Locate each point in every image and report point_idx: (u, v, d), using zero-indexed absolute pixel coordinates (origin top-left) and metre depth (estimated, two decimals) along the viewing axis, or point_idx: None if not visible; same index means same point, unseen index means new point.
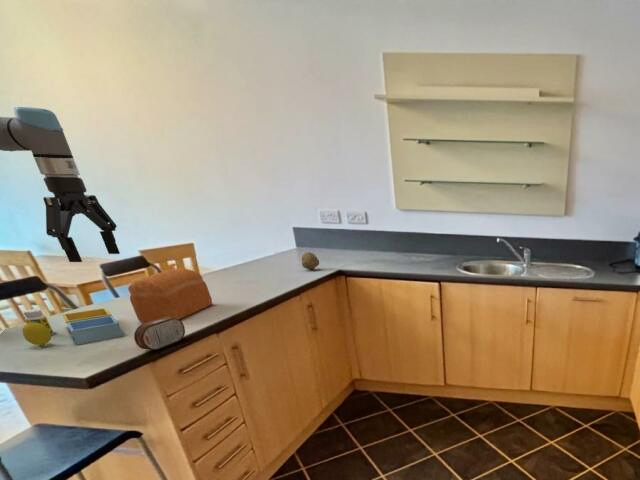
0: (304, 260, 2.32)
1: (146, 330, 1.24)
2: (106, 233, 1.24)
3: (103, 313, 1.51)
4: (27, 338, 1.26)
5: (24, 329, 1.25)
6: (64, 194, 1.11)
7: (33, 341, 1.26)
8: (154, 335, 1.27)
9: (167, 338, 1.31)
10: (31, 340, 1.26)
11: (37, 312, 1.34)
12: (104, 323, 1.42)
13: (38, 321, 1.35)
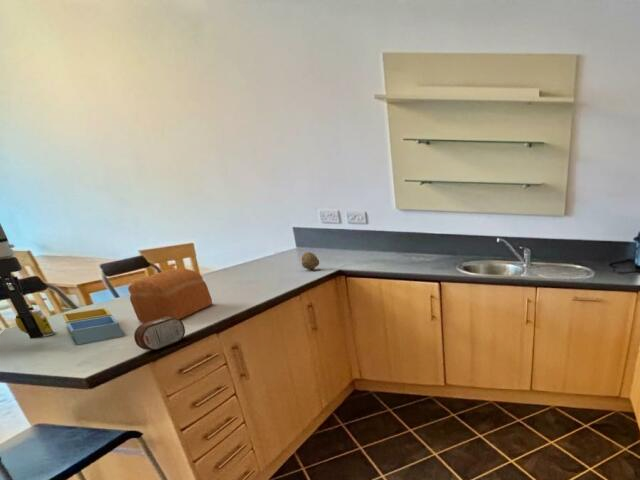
0: (304, 260, 2.32)
1: (146, 330, 1.24)
2: None
3: (103, 313, 1.51)
4: (20, 327, 1.24)
5: None
6: (10, 274, 1.18)
7: (26, 331, 1.25)
8: (154, 335, 1.27)
9: (167, 338, 1.31)
10: (24, 329, 1.24)
11: (37, 312, 1.34)
12: (104, 323, 1.42)
13: None
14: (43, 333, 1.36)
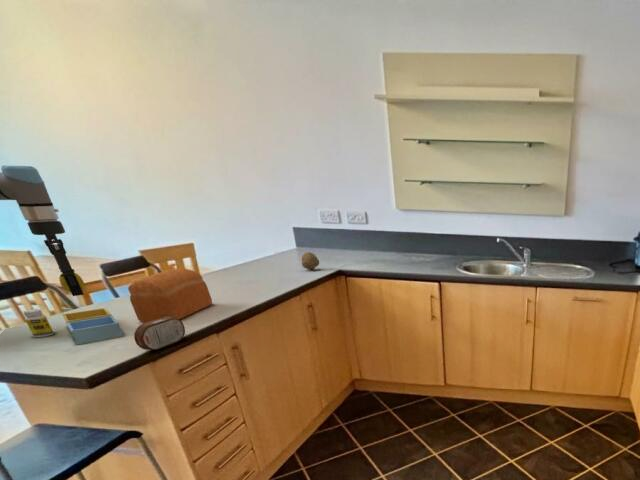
0: (304, 260, 2.32)
1: (146, 330, 1.24)
2: None
3: (103, 313, 1.51)
4: (64, 285, 1.37)
5: (61, 277, 1.36)
6: (55, 235, 1.31)
7: (69, 289, 1.38)
8: (154, 335, 1.27)
9: (167, 338, 1.31)
10: (67, 287, 1.37)
11: (37, 312, 1.34)
12: (104, 323, 1.42)
13: (38, 321, 1.35)
14: (43, 333, 1.36)
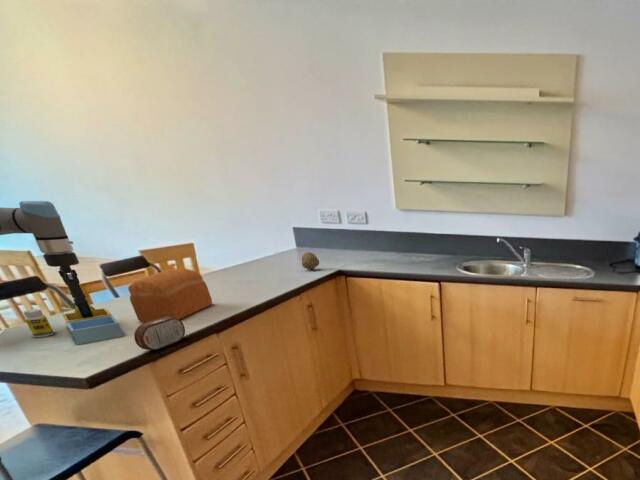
0: (304, 260, 2.32)
1: (146, 330, 1.24)
2: (80, 300, 1.45)
3: (103, 313, 1.51)
4: (79, 317, 1.42)
5: (76, 309, 1.41)
6: (69, 266, 1.36)
7: None
8: (154, 335, 1.27)
9: (167, 338, 1.31)
10: None
11: (37, 312, 1.34)
12: (104, 323, 1.42)
13: (38, 321, 1.35)
14: (43, 333, 1.36)
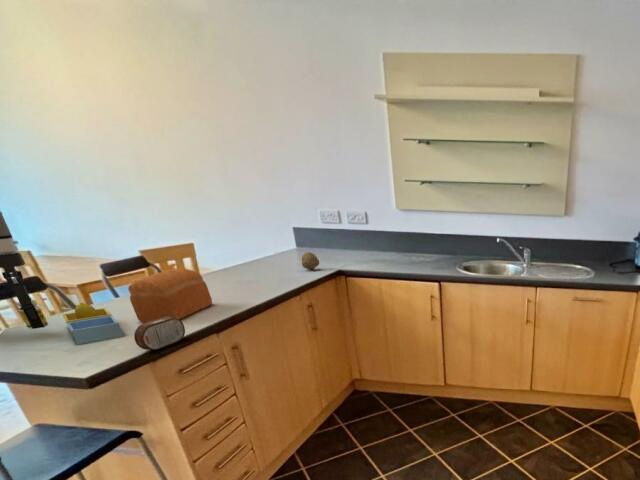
0: (304, 260, 2.32)
1: (146, 330, 1.24)
2: None
3: (103, 313, 1.51)
4: (79, 317, 1.42)
5: (76, 309, 1.41)
6: (14, 268, 1.27)
7: None
8: (154, 335, 1.27)
9: (167, 338, 1.31)
10: None
11: None
12: (104, 323, 1.42)
13: None
14: None
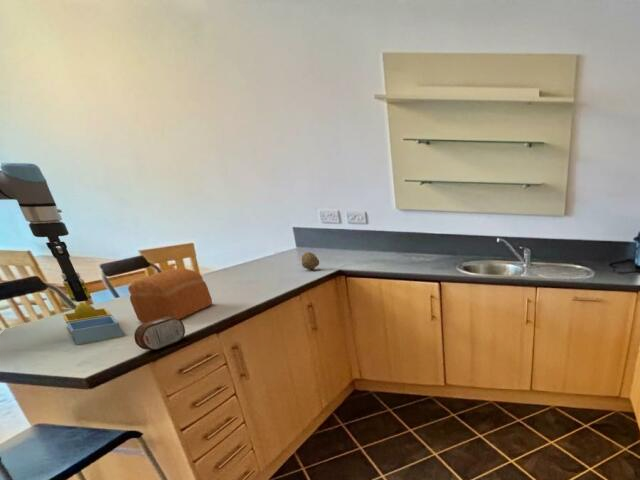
0: (304, 260, 2.32)
1: (146, 330, 1.24)
2: None
3: (103, 313, 1.51)
4: (79, 317, 1.42)
5: (76, 309, 1.41)
6: (58, 237, 1.23)
7: None
8: (154, 335, 1.27)
9: (167, 338, 1.31)
10: None
11: None
12: (104, 323, 1.42)
13: None
14: None
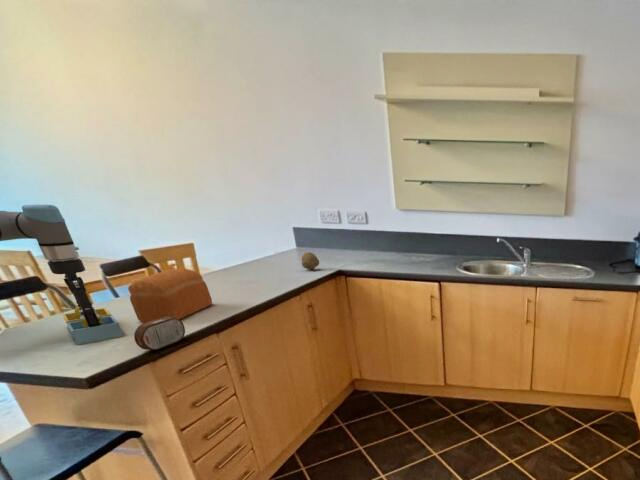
0: (304, 260, 2.32)
1: (146, 330, 1.24)
2: None
3: (103, 313, 1.51)
4: (79, 317, 1.42)
5: (76, 309, 1.41)
6: (75, 274, 1.28)
7: None
8: (154, 335, 1.27)
9: (167, 338, 1.31)
10: None
11: None
12: (104, 323, 1.42)
13: None
14: None
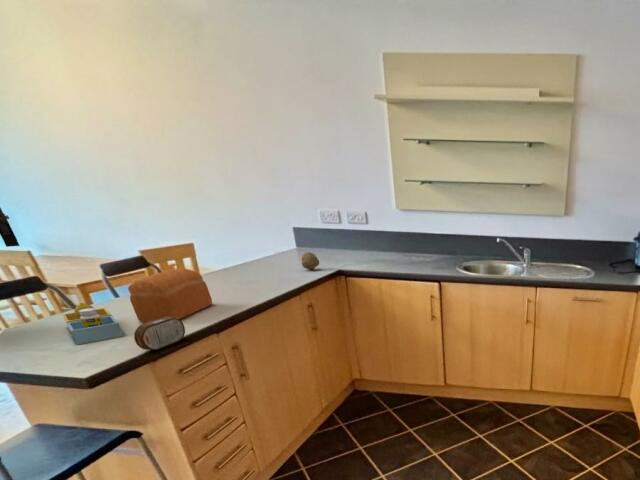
0: (304, 260, 2.32)
1: (146, 330, 1.24)
2: None
3: (103, 313, 1.51)
4: (79, 317, 1.42)
5: (76, 309, 1.41)
6: None
7: None
8: (154, 335, 1.27)
9: (167, 338, 1.31)
10: None
11: (92, 311, 1.34)
12: (104, 323, 1.42)
13: (93, 320, 1.35)
14: None
